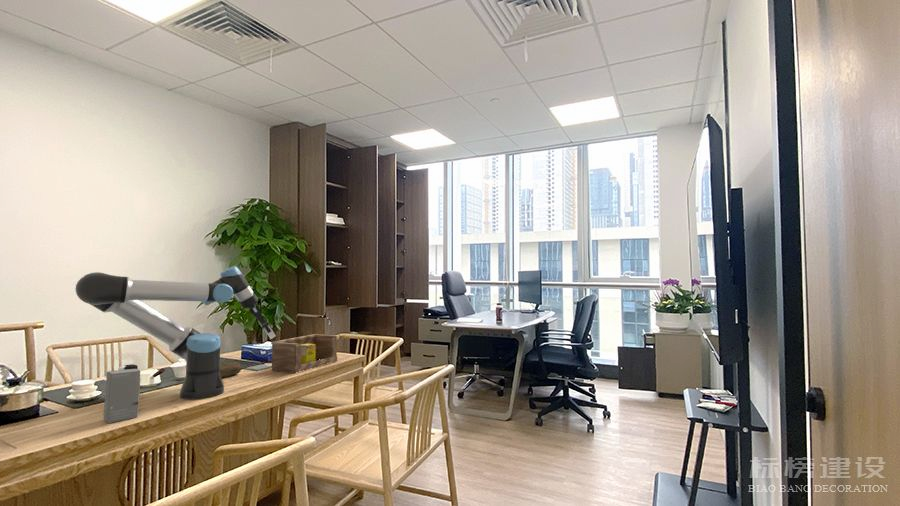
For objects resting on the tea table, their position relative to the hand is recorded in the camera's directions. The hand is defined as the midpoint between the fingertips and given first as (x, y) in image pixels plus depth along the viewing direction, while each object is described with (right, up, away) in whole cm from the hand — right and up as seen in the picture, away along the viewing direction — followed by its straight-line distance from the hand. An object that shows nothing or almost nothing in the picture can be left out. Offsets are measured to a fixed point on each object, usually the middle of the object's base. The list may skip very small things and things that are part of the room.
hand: (270, 334), depth 196 cm
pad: (-12, -20, +14) cm, 27 cm away
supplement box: (+10, -21, +21) cm, 31 cm away
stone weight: (-20, -20, -4) cm, 29 cm away
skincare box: (-24, -17, -59) cm, 66 cm away
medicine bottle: (-42, -18, -34) cm, 57 cm away
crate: (+10, -20, +20) cm, 30 cm away
